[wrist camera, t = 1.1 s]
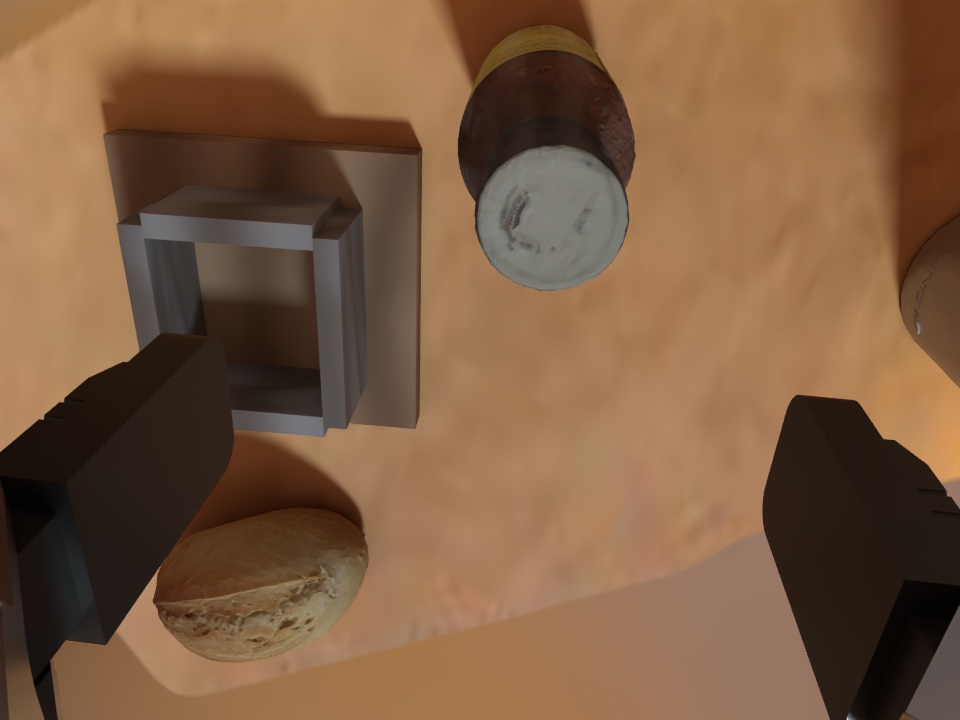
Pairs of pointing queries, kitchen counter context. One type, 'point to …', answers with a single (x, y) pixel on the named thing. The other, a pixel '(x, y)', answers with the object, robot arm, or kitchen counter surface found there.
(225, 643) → the bread roll
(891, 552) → the robot arm
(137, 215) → the grey open box
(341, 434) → the kitchen counter surface
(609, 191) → the sauce bottle
